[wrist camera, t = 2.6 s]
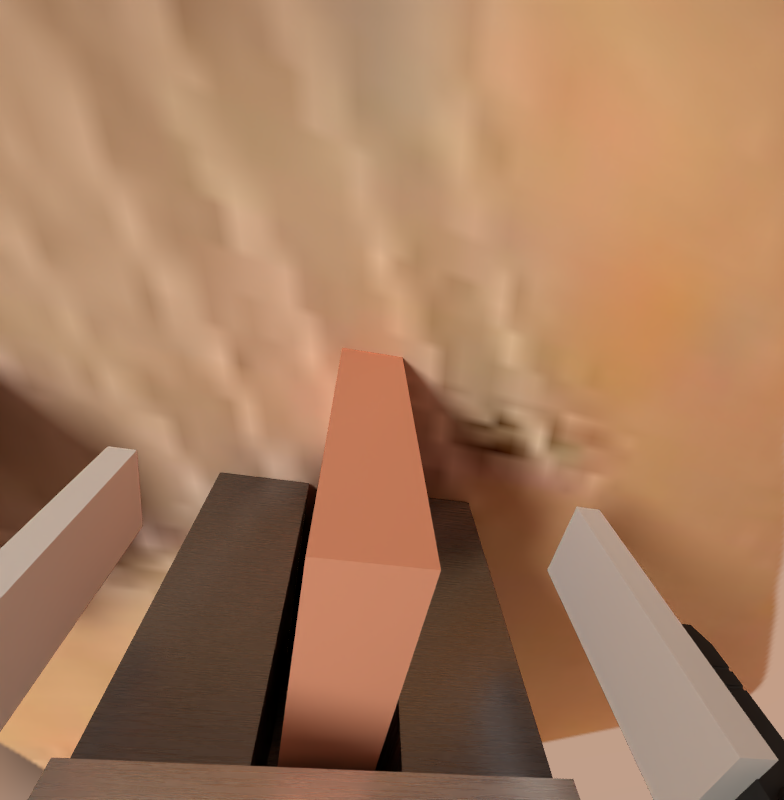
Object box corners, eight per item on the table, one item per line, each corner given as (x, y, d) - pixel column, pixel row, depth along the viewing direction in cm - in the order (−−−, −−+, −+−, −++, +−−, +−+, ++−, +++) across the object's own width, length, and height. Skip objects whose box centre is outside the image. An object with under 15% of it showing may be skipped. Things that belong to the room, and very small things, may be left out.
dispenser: (220, 454, 19) (-4, 855, 8) (473, 486, 21) (602, 864, 9) (217, 679, 27) (99, 1056, 15) (404, 691, 28) (428, 1044, 17)
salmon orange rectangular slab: (342, 347, 17) (305, 556, 8) (402, 357, 18) (441, 570, 8) (311, 559, 23) (266, 845, 13) (358, 563, 23) (349, 846, 13)
